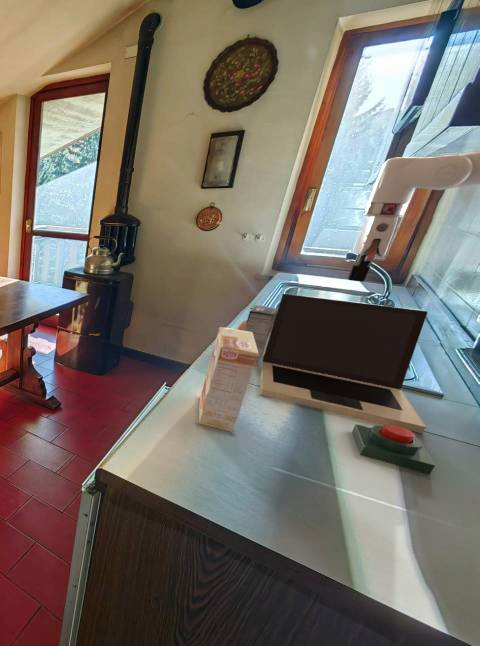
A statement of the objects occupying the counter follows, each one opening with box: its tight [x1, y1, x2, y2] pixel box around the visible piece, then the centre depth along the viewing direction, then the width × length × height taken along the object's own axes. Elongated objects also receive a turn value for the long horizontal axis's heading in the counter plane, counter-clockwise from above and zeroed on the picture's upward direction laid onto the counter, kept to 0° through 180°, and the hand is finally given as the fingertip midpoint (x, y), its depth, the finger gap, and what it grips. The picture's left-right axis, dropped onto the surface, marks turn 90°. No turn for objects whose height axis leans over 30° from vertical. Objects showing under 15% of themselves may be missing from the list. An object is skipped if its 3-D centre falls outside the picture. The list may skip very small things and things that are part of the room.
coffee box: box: [244, 305, 279, 365], centre depth 122 cm, size 9×6×16 cm
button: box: [381, 424, 416, 443], centre depth 79 cm, size 4×4×2 cm
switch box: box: [351, 423, 436, 475], centre depth 80 cm, size 10×10×4 cm
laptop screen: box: [261, 293, 429, 391], centre depth 109 cm, size 21×30×1 cm
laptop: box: [259, 362, 427, 434], centre depth 102 cm, size 21×30×2 cm
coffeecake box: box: [198, 326, 259, 433], centre depth 90 cm, size 15×7×20 cm, turn 150°
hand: (355, 280), depth 108 cm, fingers closed
